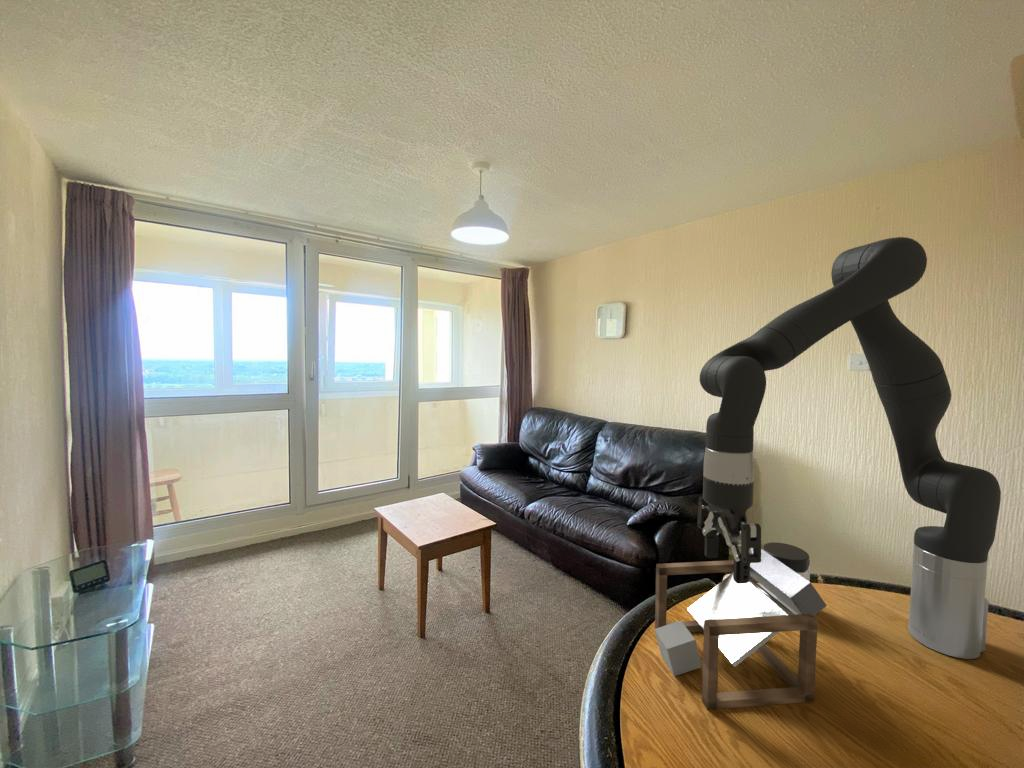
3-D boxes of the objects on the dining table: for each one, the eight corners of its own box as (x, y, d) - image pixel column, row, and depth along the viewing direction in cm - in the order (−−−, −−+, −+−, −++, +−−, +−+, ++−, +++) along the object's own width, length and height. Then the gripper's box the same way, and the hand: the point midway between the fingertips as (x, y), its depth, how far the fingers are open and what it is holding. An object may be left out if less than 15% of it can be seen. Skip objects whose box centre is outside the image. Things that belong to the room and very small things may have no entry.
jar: (819, 616, 84) (821, 558, 84) (785, 621, 83) (788, 563, 82) (781, 591, 93) (783, 539, 92) (750, 596, 91) (752, 543, 91)
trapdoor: (766, 562, 80) (752, 542, 79) (831, 608, 65) (814, 584, 64) (694, 619, 79) (679, 599, 79) (743, 678, 65) (725, 655, 64)
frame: (738, 623, 82) (740, 559, 81) (813, 701, 64) (817, 619, 63) (654, 628, 81) (656, 563, 80) (707, 709, 62) (709, 626, 61)
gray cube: (680, 620, 74) (654, 629, 73) (695, 639, 69) (666, 649, 68) (687, 645, 74) (661, 654, 74) (702, 666, 69) (674, 676, 69)
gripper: (779, 488, 63) (775, 591, 64) (724, 463, 77) (721, 548, 78) (732, 489, 62) (729, 593, 64) (685, 464, 77) (683, 550, 78)
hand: (725, 568), depth 71 cm, fingers open, 8 cm apart
